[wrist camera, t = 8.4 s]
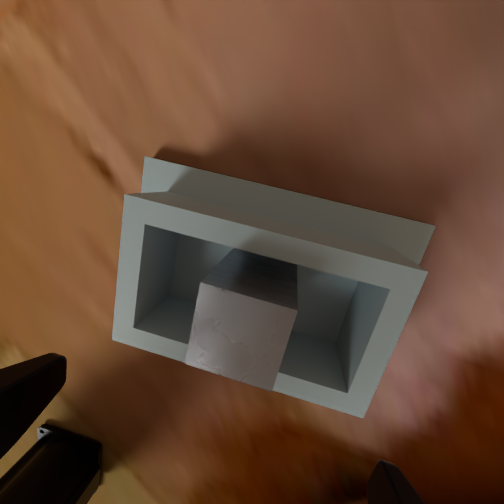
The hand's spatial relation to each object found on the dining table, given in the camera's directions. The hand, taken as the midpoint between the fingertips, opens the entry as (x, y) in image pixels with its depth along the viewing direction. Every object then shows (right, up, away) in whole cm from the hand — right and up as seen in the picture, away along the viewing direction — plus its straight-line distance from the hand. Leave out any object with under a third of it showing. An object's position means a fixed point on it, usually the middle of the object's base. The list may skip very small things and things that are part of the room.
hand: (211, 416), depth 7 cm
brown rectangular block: (+2, +3, +10) cm, 11 cm away
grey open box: (+2, +3, +11) cm, 12 cm away
